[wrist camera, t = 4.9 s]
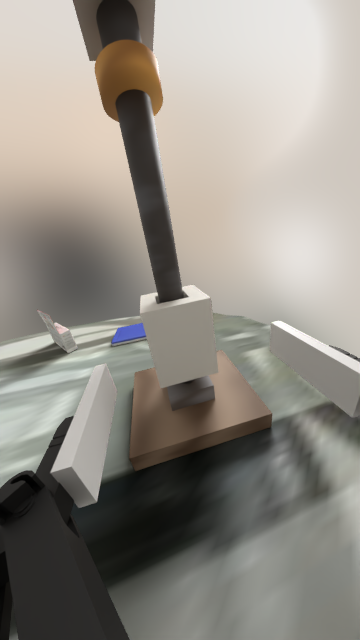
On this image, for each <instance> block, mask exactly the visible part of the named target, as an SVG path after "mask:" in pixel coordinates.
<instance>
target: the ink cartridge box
mask: <svg viewBox="0 0 360 640" xmlns="http://www.w3.org/2000/svg"><path fill="white" fill-rule="evenodd" d="M37 311H38V313H39V315H40V316H41V318H42V319H43V321H44V322H45V324H46V325H47V328H48V329H49V332H50V334H51V336H52V338H53V340H54V342H55V343H56V344H58V345H59V346H60V347H61V348H63V349H64V350H65V351H66V352H68V353H70V352H72V351H75V350H77V349H78V347H77V345H76V343H75V341H74V338H73V336H72V334H71V332H70V330H69V329H67V328H65V327H63V326H61V325H59V324H57V323H53V321H52V319H51V317H50V316H49V315H48V314H46V313H43V312H41V311H39V310H37ZM44 316H45V317H46V318H47V319H48V320H47V319H46V318H45V317H44Z"/></svg>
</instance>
